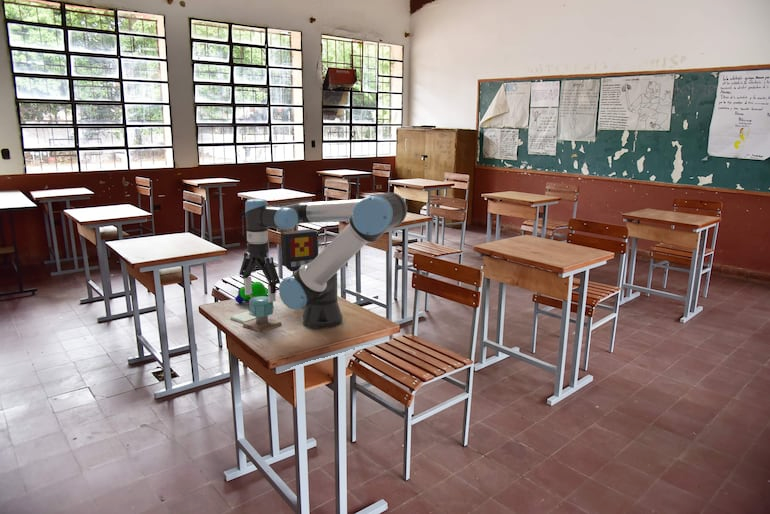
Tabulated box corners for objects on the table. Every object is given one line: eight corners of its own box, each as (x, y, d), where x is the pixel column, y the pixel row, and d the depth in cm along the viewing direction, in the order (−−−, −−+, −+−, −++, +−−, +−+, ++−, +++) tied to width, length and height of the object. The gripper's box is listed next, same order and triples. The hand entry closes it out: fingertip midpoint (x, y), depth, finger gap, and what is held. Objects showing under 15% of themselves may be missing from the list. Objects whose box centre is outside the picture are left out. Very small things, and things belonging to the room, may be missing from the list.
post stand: (281, 324, 203) (280, 302, 201) (260, 332, 196) (258, 308, 194) (264, 319, 209) (263, 297, 207) (243, 326, 202) (241, 303, 200)
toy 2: (288, 304, 228) (285, 234, 221) (283, 300, 233) (280, 232, 226) (319, 299, 234) (317, 231, 227) (313, 295, 239) (311, 229, 232)
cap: (280, 311, 203) (279, 298, 202) (257, 319, 195) (256, 305, 194) (265, 307, 208) (264, 294, 207) (242, 314, 200) (242, 300, 199)
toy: (241, 316, 225) (256, 296, 216) (229, 295, 228) (243, 275, 219) (260, 310, 233) (275, 291, 224) (248, 290, 236) (262, 270, 227)
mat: (263, 317, 211) (263, 315, 211) (244, 323, 204) (244, 321, 204) (249, 312, 217) (249, 310, 216) (230, 318, 210) (230, 316, 209)
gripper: (228, 238, 200) (231, 293, 205) (272, 248, 185) (274, 307, 190) (244, 235, 206) (247, 289, 211) (288, 245, 191) (290, 302, 196)
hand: (260, 297), depth 200 cm, fingers open, 13 cm apart
